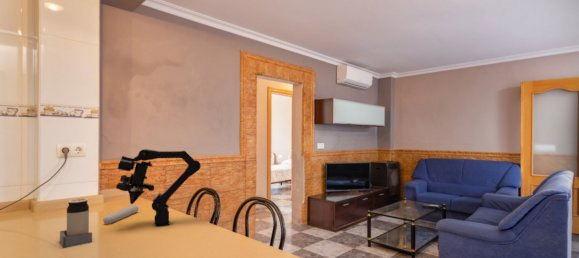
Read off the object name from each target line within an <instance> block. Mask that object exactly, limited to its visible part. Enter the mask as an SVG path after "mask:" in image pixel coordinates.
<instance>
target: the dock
mask: <svg viewBox="0 0 579 258" xmlns="http://www.w3.org/2000/svg"><path fill="white" fill-rule="evenodd" d="M59 242H60V244H61V247H62V249H65V248H68V247H75V246H79V245H84V244H90V243H93V232H92V231H89V233H84V234H79V235H74V236H68V237H67V229H66V230H65V229H64V230H60V231H59Z"/></svg>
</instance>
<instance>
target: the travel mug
mask: <svg viewBox="0 0 579 258" xmlns="http://www.w3.org/2000/svg"><path fill="white" fill-rule="evenodd" d="M88 201H89V199H88V198H87V197H85V198H84V197H81V198H73V199H69V200H67V204H68V206H67V208H66V230H67V237H68V236H74V235H79V234H84V233H90V229H89V228H90V223H89V222H90V219H89V218H90V214H89V213H90V206H89V204H88Z"/></svg>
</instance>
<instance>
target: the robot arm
mask: <svg viewBox="0 0 579 258" xmlns="http://www.w3.org/2000/svg"><path fill="white" fill-rule="evenodd" d="M157 159H182V160H183V161H184V162H185V163H186V164H187V166H186V168H185V170H184V171H183V173H181V174H180V175H179V177H178V178H177V179H175V181H174V182H173V183H172V184H171V185H170V186H169V187H168V188H167V189H166V190H165V191H164V192H163V193H161V192H158V194H157V196H155V197H154V198H153V200H152V202H151V208H152V210H153V211H155V215H154V225H155V227H162V226H169V225H170V211H169V208H170V206H169V204H167V202H168V201H169V199H170V198H171V196H173V194H174V193H176V191H178V189H179V188H180V187H181V186H182V185H183V184H184V183H185V182H186V181H187V180H188V179H189V178H190V177H191V176H192V175H194V174H196V173H197V172H198V171H200V170H201V166H202V165H201V163H200V161H199V160H197V159H194V158H193V157H192V156H191V155H190V154H189V153H187V151H186V150H154V149H149V148H148V149H147V148H144V149H141V150H140V151H139V152H138V154H137V156H134V158H132V157H128V156H123V155H122V157H121V158H120V160H119V162H118V165H117V170H121V171H124V172H125V171H126V172H131V171H133V170H134V171H133V173H131V174H130V176H128V175H127V174H122V175H121V176H120V178H119V179H120V180H119V181H120V182H118V183H117V184H116V186H115V189H118V190H120V191H122V192H128V195H129V202H130V205H134V204H135V202H137V200H138V199H139V197H141V195H142V194H144V193H145V190H146V189H147V190H148V191H150V192H153V191H154V190H155V185H153V184H151V183H147V182H145V180H146V179H148V177H147V171H148V169H149V167H153V163H152V162H151V160H157ZM140 161H141V162H140ZM144 189H145V190H144Z"/></svg>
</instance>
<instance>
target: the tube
mask: <svg viewBox="0 0 579 258" xmlns="http://www.w3.org/2000/svg"><path fill="white" fill-rule="evenodd" d="M138 211H139V206H138V205H137V204H130V205H129V206H126V207H124V208H122V209H119V210H117V211H114V212H112V213H109V214H106V215H105V216H104V217H103V220H102V221H103V223H104V224H105V225H112V224H113V223H116V222H118V221H121V220H123V219H125V218H128V217H130V216H132V215H134V214H137V213H138Z"/></svg>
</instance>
